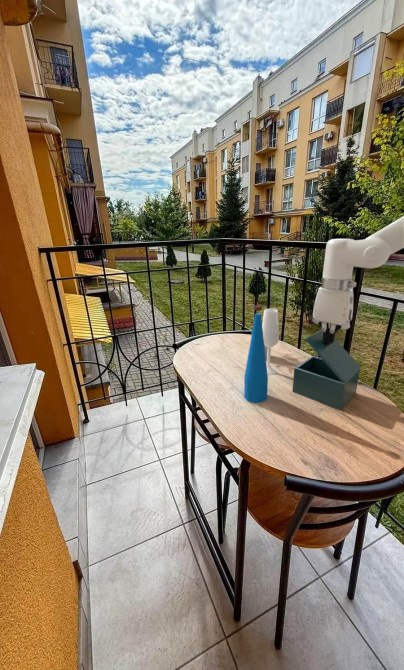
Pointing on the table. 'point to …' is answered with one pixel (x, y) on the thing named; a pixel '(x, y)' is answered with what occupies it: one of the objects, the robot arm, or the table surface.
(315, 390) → the tin box
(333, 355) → the lid
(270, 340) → the champagne flute
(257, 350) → the bottle
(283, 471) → the table surface
